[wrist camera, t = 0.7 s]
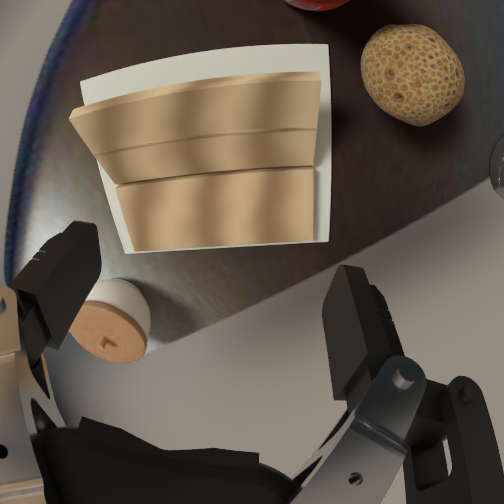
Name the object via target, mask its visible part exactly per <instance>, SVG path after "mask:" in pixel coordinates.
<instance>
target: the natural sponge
mask: <svg viewBox="0 0 504 504" xmlns="http://www.w3.org/2000/svg"><path fill="white" fill-rule="evenodd" d="M361 73H362V78H363V82H364V85H365V88H366V90H367V92H368V93H369V95H370V96H371V98H372V99H373V100H374V102H375V103H376V104H377V105H378V106H379V107H380V108H381V109H382V110H383V111H385V112H386V113H388V114H389V115H391V116H393V117H395V118H397V119H399V120H401V121H403V122H406V123H408V124H411V125H415V126H426V125H429V124H431V123H432V122H434V121H436V120H438V119H439V118H441V117H443V116H444V115H446V114H447V113H448V112H450V111H451V110H452V109H453V108H454V107H455V106H456V105H457V104H458V103H459V101H460V100H461V98H462V96H463V93H464V88H465V76H464V72H463V68H462V65H461V63H460V61H459V59H458V57H457V56H456V54H455V53H454V52H453V50H452V49H451V48H450V46H449V45H448V44H447V43H446V42H445V41H444V40H443V39H442V38H441V37H440V36H439V35H438V34H437V33H436V32H435V31H433V30H432V29H430V28H428V27H426V26H424V25H418V24H405V25H395V24H392V25H387V26H384V27H382V28H380V29H379V30H377V31H376V32H375V33H374V34H373V35H372V37H371V38H370V40H369V41H368V42H367V44H366V46H365V48H364V50H363V53H362V56H361Z"/></svg>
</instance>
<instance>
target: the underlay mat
mask: <svg viewBox="0 0 504 504" xmlns="http://www.w3.org/2000/svg"><path fill="white" fill-rule="evenodd" d="M279 72H319V75H320V78H321V91H320V102H319V113H318V123H317V133H316V143H315V152H314V161H313V165H312V168H313V241H299V242H282V243H265V244H248V245H232V246H216V247H200V248H184V249H169V250H154V251H139V252H135V251H134V248H133V245H132V242H131V239H130V236H129V233H128V230H127V227H126V224H125V220H124V217H123V214H122V210H121V207H120V204H119V200H118V197H117V193H116V189H115V188H116V187H117V186H118V184H114V182H113V181H112V180H111V178H110V177H109V176H108V174H107V173H106V172H105V170H104V169H103V167H102V166H101V165H100V163H99V162H98V160H97V162H98V166H99V170H100V174H101V177H102V181H103V184H104V188H105V191H106V195H107V198H108V202H109V205H110V208H111V211H112V215H113V218H114V221H115V224H116V227H117V230H118V233H119V236H120V239H121V242H122V245H123V248H124V251H125V254H131V253H146V252H162V251H178V250H193V249H209V248H226V247H242V246H259V245H276V244H293V243H310V242H328V241H329V226H330V201H331V90H330V67H329V49H328V44H281V45H261V46H248V47H237V48H228V49H219V50H212V51H205V52H198V53H192V54H186V55H180V56H175V57H170V58H165V59H160V60H156V61H151V62H147V63H143V64H139V65H135V66H131V67H127V68H123V69H120V70H116V71H113V72H109V73H106V74H103V75H99V76H96V77H93V78H90V79H87V80H84V81H81V82H80V84H81V89H82V95H83V100H84V105H85V106H86V105H89V104H92V103H96V102H99V101H103V100H106V99H110V98H114V97H118V96H122V95H126V94H130V93H134V92H138V91H143V90H147V89H152V88H157V87H162V86H167V85H172V84H178V83H184V82H190V81H197V80H203V79H211V78H219V77H227V76H237V75H248V74H261V73H279Z"/></svg>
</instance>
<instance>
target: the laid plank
mask: <svg viewBox="0 0 504 504" xmlns="http://www.w3.org/2000/svg"><path fill="white" fill-rule="evenodd" d="M115 189H116V193H117V197H118V200H119V204H120V207H121V210H122V214H123V217H124V220H125V224H126V227H127V230H128V233H129V236H130V239H131V242H132V245H133V248H134V251H135V252H139V251H154V250H169V249H184V248H200V247H216V246H232V245H248V244H265V243H282V242H299V241H313V168H312V165H307V166H285V167H268V168H253V169H240V170H228V171H217V172H207V173H197V174H188V175H179V176H171V177H163V178H156V179H148V180H141V181H134V182H128V183H121V184H118V186H117V187H116V188H115Z"/></svg>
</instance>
